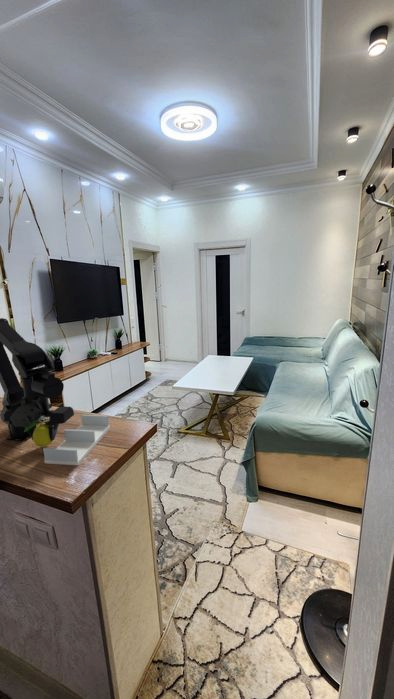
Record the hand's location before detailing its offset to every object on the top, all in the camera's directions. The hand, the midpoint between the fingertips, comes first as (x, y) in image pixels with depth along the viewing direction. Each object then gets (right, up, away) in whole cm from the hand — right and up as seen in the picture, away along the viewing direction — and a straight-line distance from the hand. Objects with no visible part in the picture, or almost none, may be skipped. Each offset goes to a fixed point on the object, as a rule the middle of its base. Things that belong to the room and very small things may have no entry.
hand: (43, 439), depth 87 cm
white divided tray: (+10, -2, +2) cm, 11 cm away
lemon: (0, -3, +1) cm, 3 cm away
